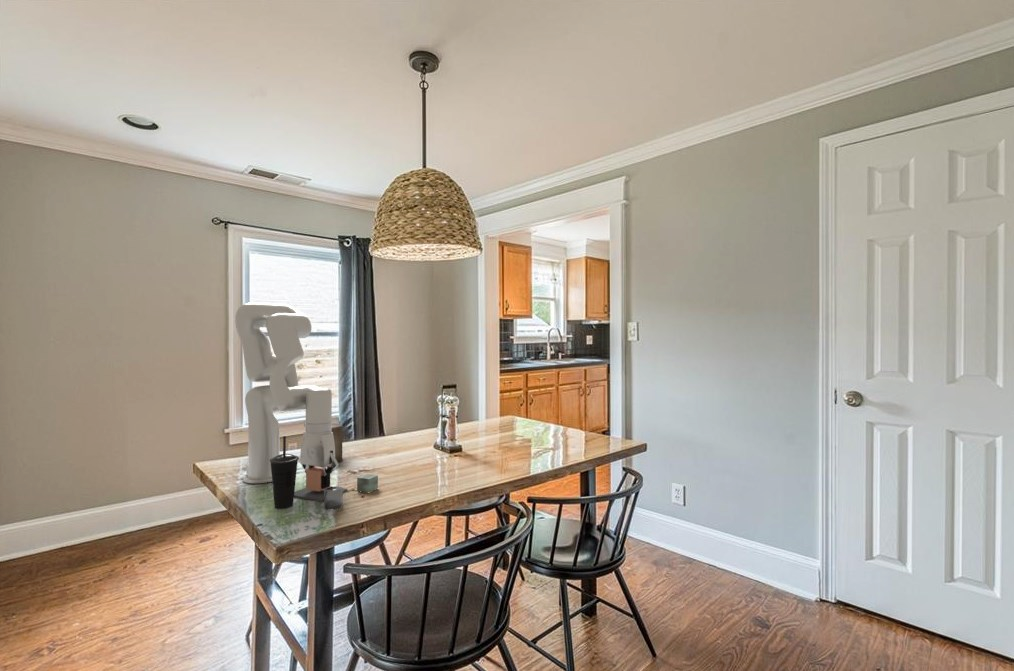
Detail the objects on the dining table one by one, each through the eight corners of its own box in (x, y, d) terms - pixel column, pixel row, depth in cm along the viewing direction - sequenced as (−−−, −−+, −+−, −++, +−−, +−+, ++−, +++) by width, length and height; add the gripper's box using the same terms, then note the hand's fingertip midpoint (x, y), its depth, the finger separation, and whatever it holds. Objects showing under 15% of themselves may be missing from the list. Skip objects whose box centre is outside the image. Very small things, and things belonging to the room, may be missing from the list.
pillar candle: (346, 457, 193) (346, 420, 193) (335, 464, 183) (335, 424, 183) (323, 457, 194) (323, 419, 194) (311, 463, 184) (311, 424, 184)
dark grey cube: (320, 508, 138) (320, 490, 138) (332, 502, 142) (332, 485, 142) (334, 510, 136) (334, 492, 136) (346, 504, 141) (346, 487, 141)
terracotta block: (305, 489, 149) (306, 469, 149) (317, 484, 153) (317, 465, 153) (318, 491, 147) (318, 471, 147) (330, 486, 151) (330, 467, 151)
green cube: (357, 491, 152) (357, 477, 152) (366, 487, 156) (366, 473, 156) (369, 493, 151) (369, 479, 151) (377, 489, 155) (377, 475, 155)
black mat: (288, 496, 147) (288, 494, 147) (314, 485, 157) (314, 483, 157) (322, 502, 142) (322, 500, 142) (347, 490, 153) (347, 488, 153)
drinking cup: (302, 501, 143) (303, 433, 143) (292, 510, 135) (292, 439, 135) (276, 501, 143) (276, 433, 143) (264, 510, 135) (264, 439, 135)
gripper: (288, 427, 149) (287, 486, 150) (332, 432, 143) (331, 493, 143) (306, 423, 156) (305, 479, 157) (349, 427, 150) (348, 486, 150)
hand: (318, 485), depth 150 cm, fingers closed on terracotta block, 5 cm apart
